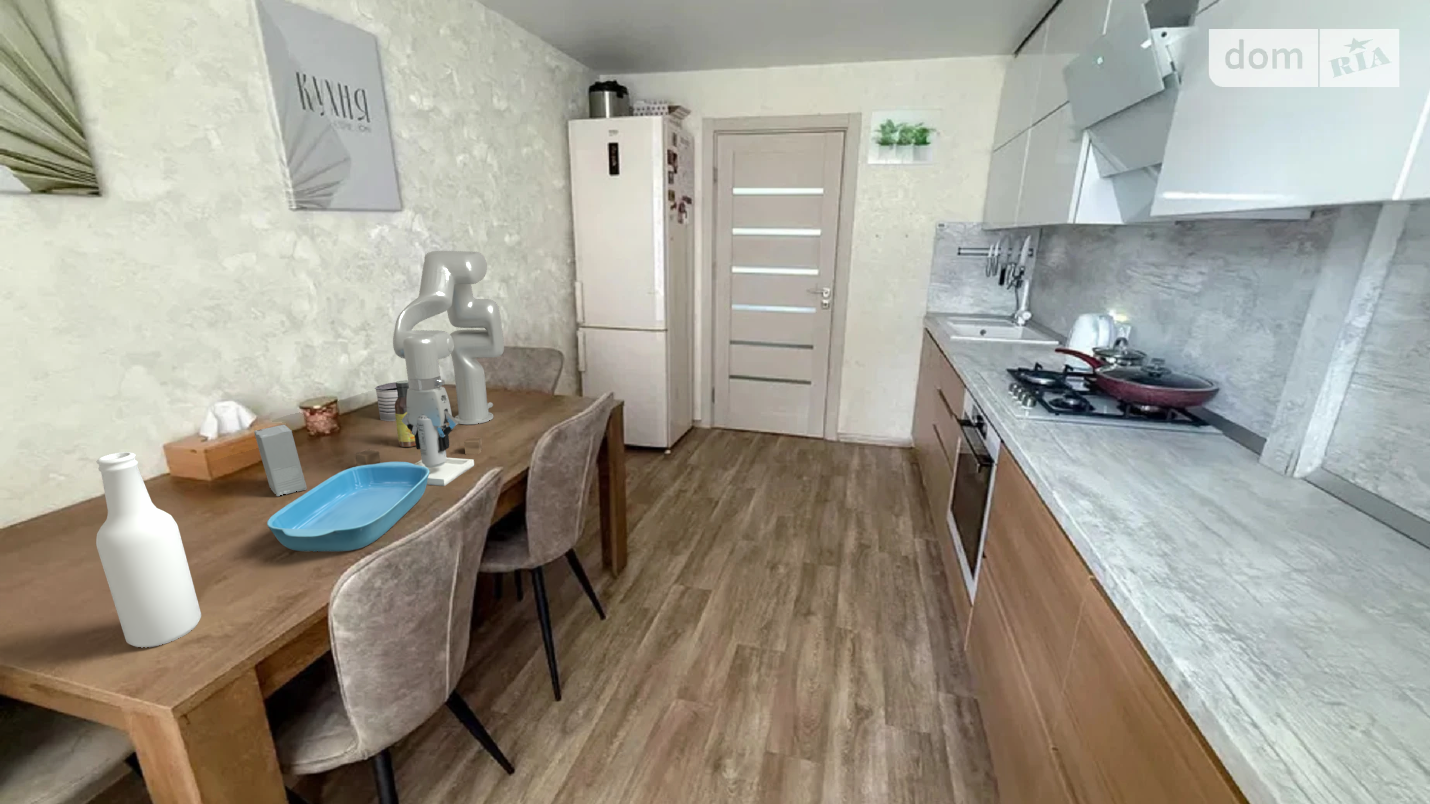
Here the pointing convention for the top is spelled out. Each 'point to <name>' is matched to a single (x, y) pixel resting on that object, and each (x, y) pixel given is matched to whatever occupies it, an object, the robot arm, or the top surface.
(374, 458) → the walnut block
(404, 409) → the sauce bottle
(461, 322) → the robot arm
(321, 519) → the casserole dish
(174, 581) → the alcohol
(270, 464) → the skincare box
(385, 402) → the striped cup
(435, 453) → the energy drink can
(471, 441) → the walnut block
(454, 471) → the tray
